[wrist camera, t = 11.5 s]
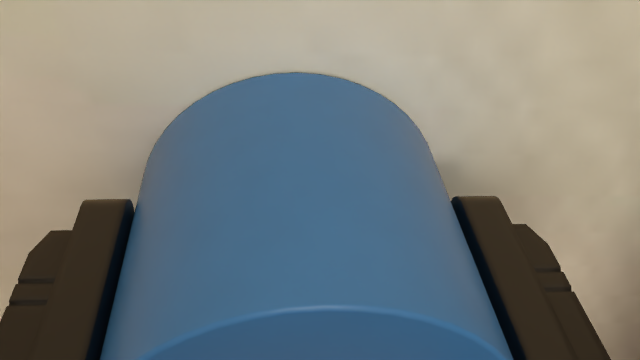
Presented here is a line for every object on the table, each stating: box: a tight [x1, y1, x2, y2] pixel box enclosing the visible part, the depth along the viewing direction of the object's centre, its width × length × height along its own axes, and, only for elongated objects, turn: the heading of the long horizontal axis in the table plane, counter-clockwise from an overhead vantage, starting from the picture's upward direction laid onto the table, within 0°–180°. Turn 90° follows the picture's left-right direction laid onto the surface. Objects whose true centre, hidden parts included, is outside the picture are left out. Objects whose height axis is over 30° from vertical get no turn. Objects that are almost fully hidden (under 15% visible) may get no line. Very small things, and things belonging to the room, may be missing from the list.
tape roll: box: [100, 73, 513, 360], centre depth 10 cm, size 6×6×5 cm
